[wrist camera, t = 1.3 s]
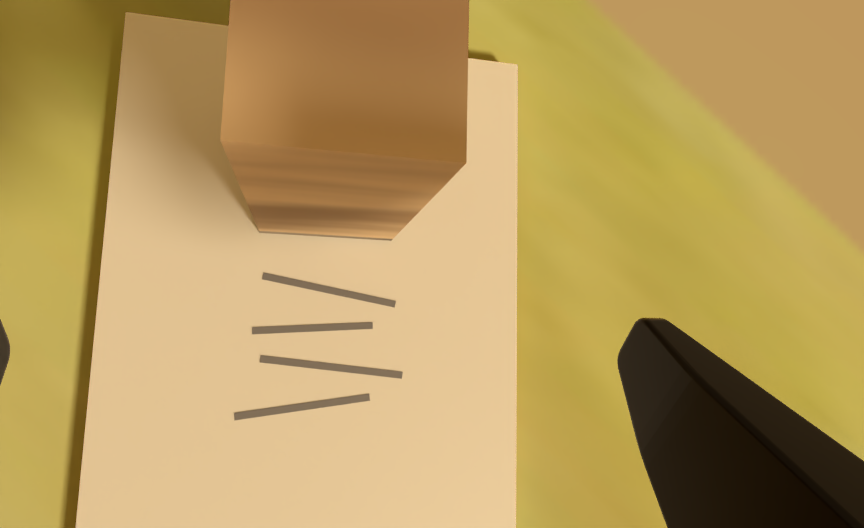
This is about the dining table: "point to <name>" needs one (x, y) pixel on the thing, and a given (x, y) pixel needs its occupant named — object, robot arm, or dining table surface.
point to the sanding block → (344, 111)
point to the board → (294, 328)
